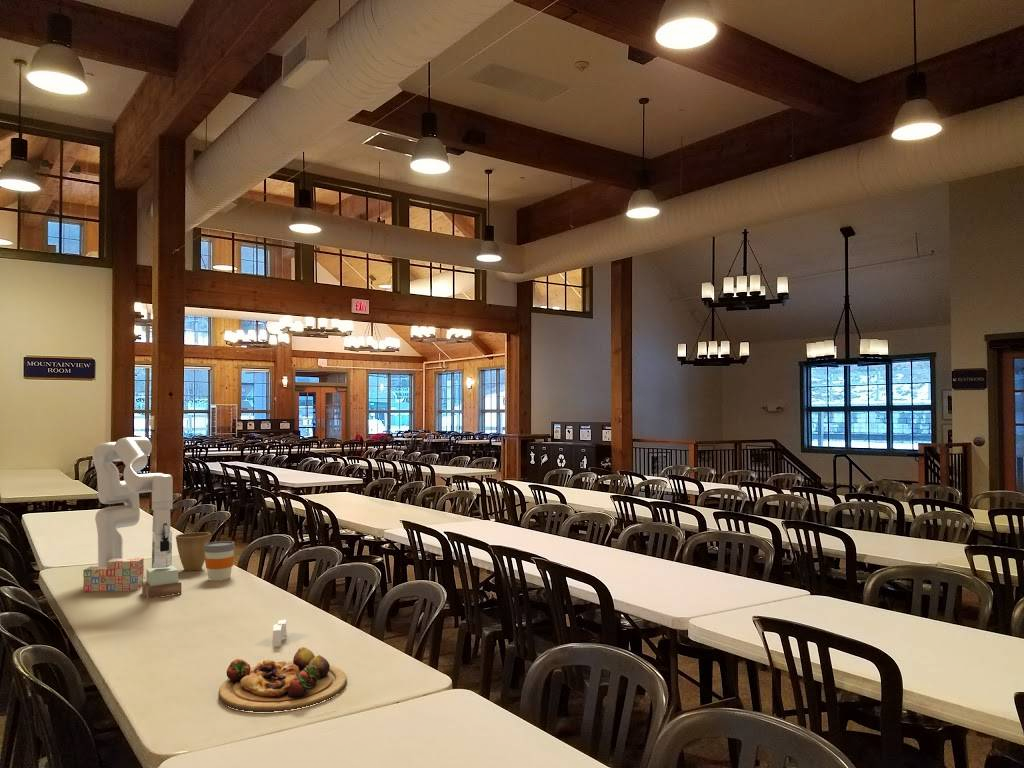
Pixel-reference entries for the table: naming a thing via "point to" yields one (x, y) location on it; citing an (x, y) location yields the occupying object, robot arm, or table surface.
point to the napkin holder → (279, 632)
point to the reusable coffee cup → (219, 559)
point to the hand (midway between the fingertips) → (162, 549)
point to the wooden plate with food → (281, 683)
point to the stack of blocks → (115, 575)
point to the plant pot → (192, 549)
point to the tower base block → (160, 589)
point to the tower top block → (162, 576)
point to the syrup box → (159, 557)
